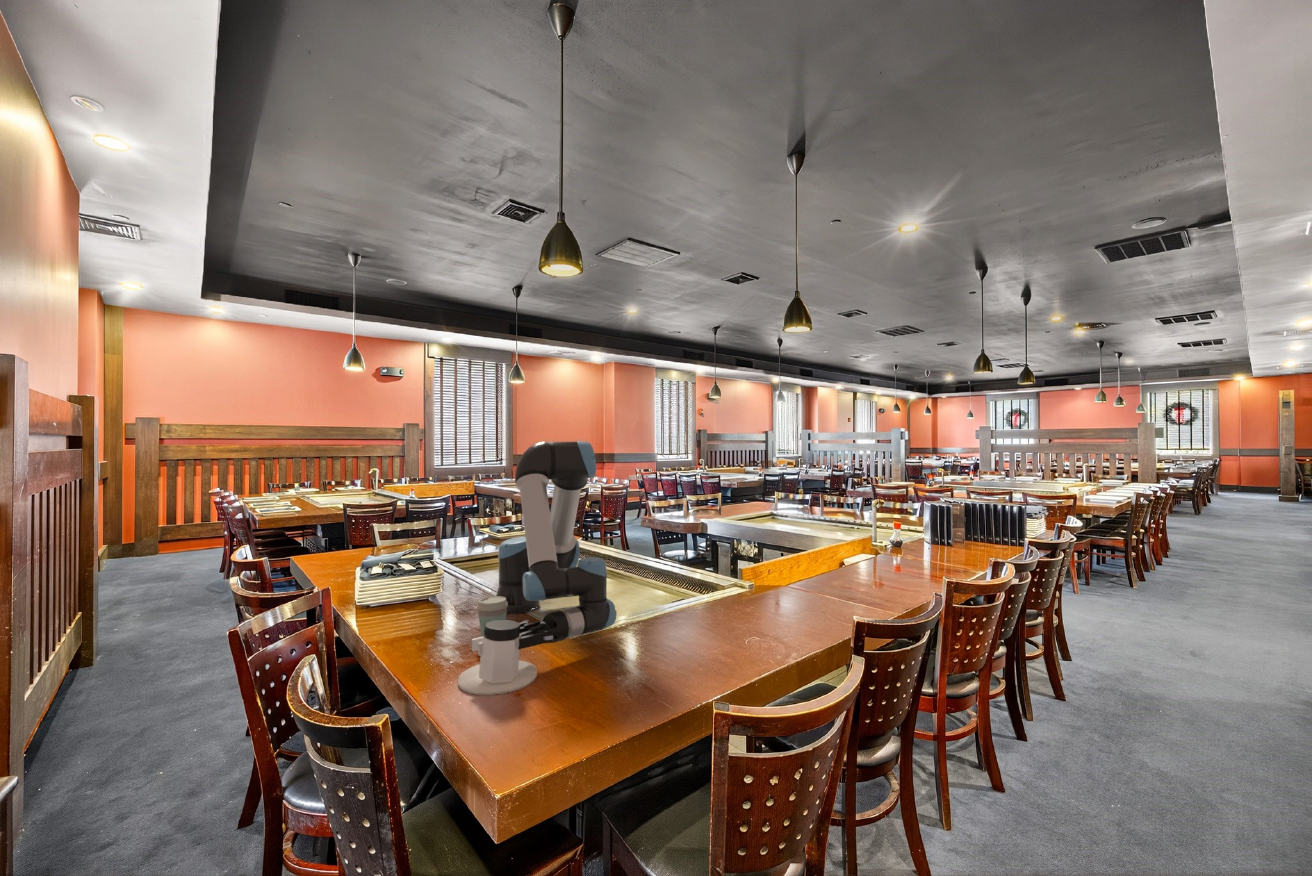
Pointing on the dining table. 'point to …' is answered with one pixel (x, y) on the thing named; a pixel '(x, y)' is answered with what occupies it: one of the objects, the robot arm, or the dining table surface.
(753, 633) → the dining table surface
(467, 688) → the saucer
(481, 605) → the coffee cup
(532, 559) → the robot arm
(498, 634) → the jar
